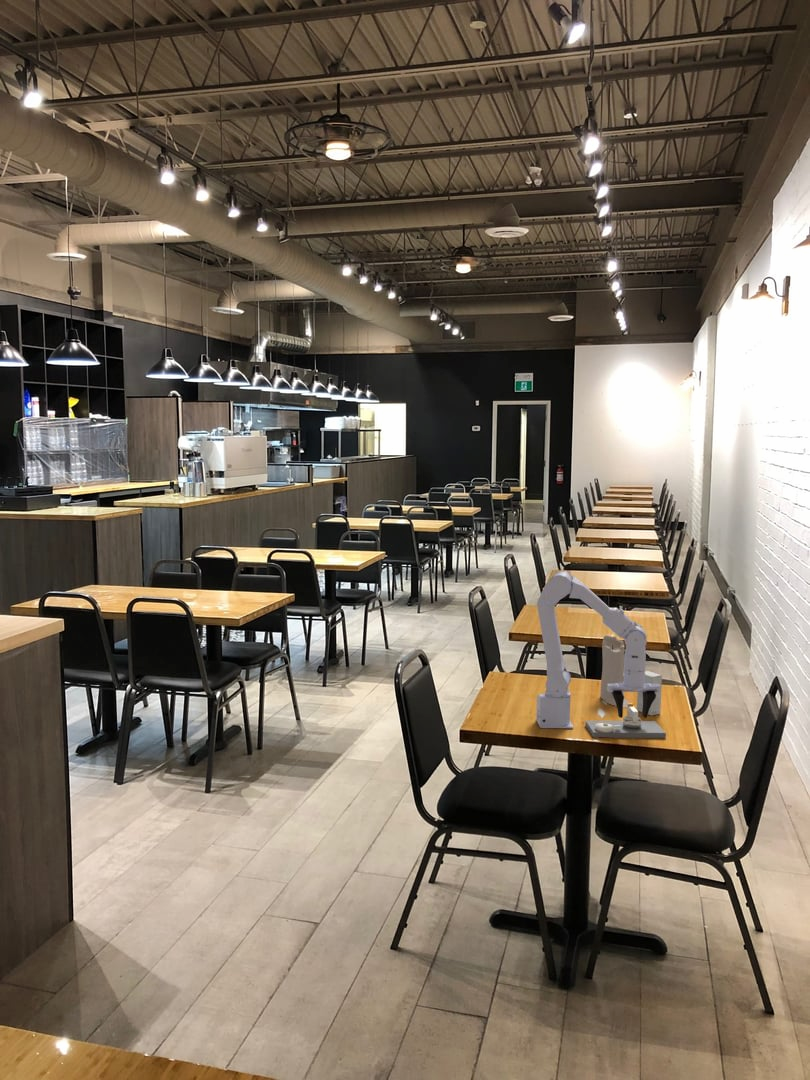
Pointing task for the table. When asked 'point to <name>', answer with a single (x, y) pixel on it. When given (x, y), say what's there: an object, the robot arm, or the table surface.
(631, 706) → the knob
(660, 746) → the table surface
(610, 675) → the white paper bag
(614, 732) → the base
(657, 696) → the skincare box
